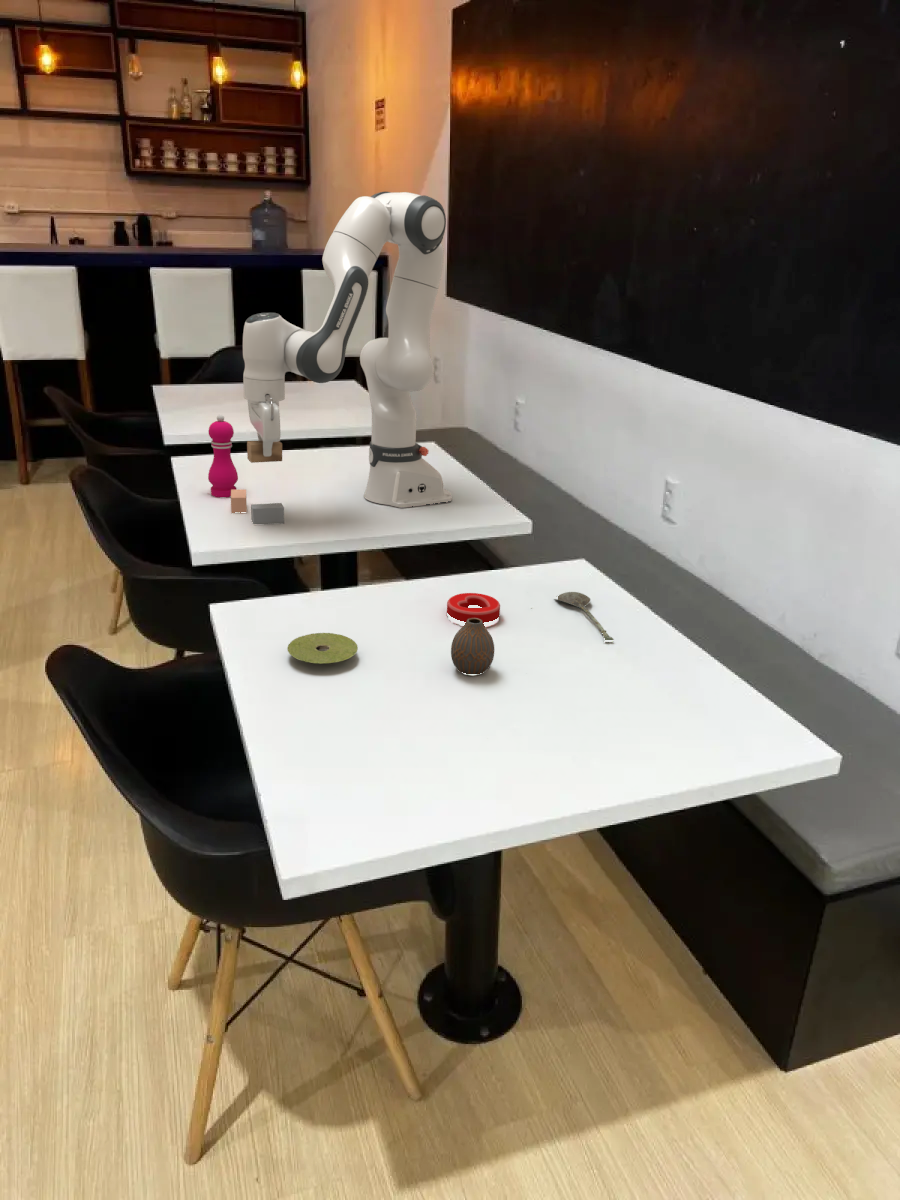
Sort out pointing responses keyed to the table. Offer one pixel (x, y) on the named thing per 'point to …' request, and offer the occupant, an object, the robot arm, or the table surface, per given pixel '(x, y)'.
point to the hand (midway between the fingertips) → (265, 453)
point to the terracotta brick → (238, 501)
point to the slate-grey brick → (267, 513)
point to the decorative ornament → (460, 610)
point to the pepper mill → (222, 459)
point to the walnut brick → (257, 453)
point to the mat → (322, 648)
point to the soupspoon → (582, 607)
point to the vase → (472, 648)
